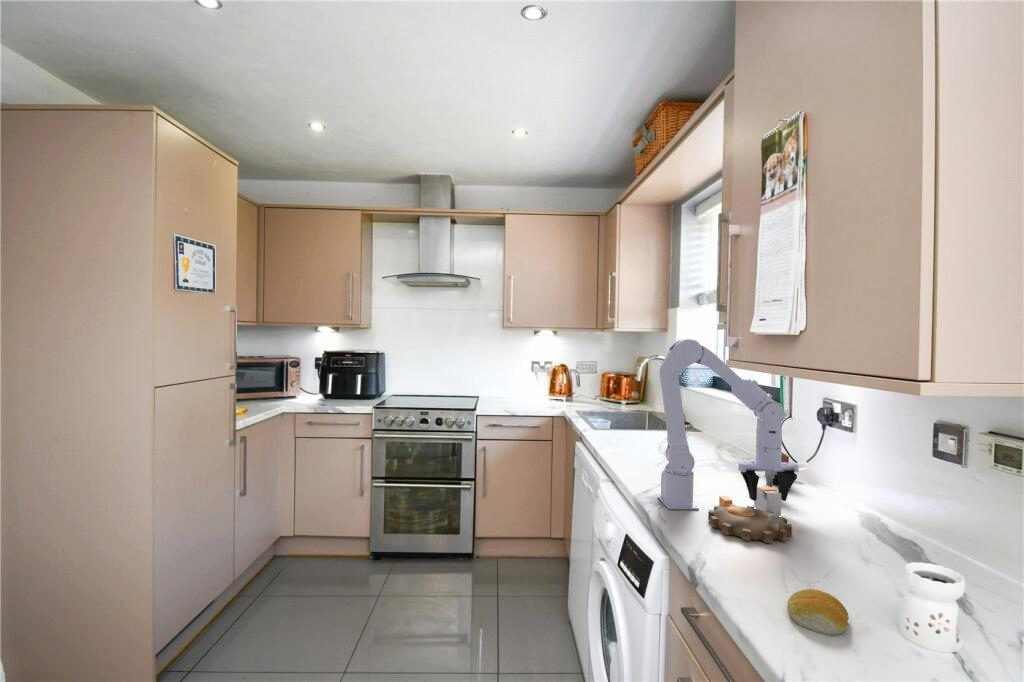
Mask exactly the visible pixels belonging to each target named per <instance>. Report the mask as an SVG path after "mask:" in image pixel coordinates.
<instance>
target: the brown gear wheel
mask: <svg viewBox="0 0 1024 682" xmlns="http://www.w3.org/2000/svg"><path fill="white" fill-rule="evenodd" d="M707 514H708V515H707V517H708V521H709V525H710V526H711V527H712V528H718V529H720V530H721V533H722V534H724V535H726V536H730V535H733V536H736V537H738V538H739V537H740V538H741V539H742V540H744V541H749V542H751V540H755V541H762V542H764V543H765V544H773V543H774V542H773V541H776V540H779V541H782V542H786V541H788V540H789V536H790V537H792V536H793V535H792V531H793V526H792V524H791V523H788V521H789V520H788V519H787V518H786V517H785V516H781V517H779V515H777V514H774V512H771V511H768V510H766V511H762V510H758V509H754V506H751V505H746V507H745V506H737V505H736V504H732V505H728V506H727V507H721V506H719V505H715V506H713V509H709V510H708V513H707Z"/></svg>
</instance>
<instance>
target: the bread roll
mask: <svg viewBox="0 0 1024 682" xmlns="http://www.w3.org/2000/svg"><path fill="white" fill-rule="evenodd" d="M786 603H787V604H786V605H787V606H786V610H787V612H788V615H789V617H790V618H791V619H792V620H793V621H794V622H795V623H796V624H798V625H799V626H801V627H803V628H806V629H808V630H810V631H813V632H816V633H820V634H822V635H825V636H827V635H828V636H836V635H841V634H843V633H844V632H846V630H847V629H848V628H849V619H850V617H849V612H848V610H847V609H846V607H845V606H844V604H843V603H842V602H841V601H840V600H839V599H838V598H836V597H835V596H833V595H831V594H830V593H828V592H825V591H823V590H819V589H815V588H814V589H811V588H809V589H807V588H805V589H801V590H797V591H795V592H794V593H792V594H791V596H789V598H788V600H787V602H786Z"/></svg>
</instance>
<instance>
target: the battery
mask: <svg viewBox="0 0 1024 682" xmlns="http://www.w3.org/2000/svg"><path fill="white" fill-rule="evenodd" d="M789 461H790V457H789V455H787V454H786V453H784V452H782V451H781V462H786V463H790V462H789ZM774 477H775V478H773V483H772V486H779V484H778V476H777V475H774Z"/></svg>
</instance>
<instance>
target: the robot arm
mask: <svg viewBox="0 0 1024 682" xmlns="http://www.w3.org/2000/svg"><path fill="white" fill-rule="evenodd" d="M693 364H698V365H700V366H705V367H708V368H709V369H710V370H711V371H712V372H713V373H714V374H716V375H717V376H719V378H720V379H722V380H723V381H724V382H726V383H727V384H728V385H729V386H730V387H731V394H732V395H733V396H734V397H735V398H736V399H737V400H739V401H740V402H741V403H742V404H744V406H745V407H747V408H748V409H749V411H752V412H753V414H754V416H755V417H757V418H756V435H755V436H756V437H755V438H756V439H755V440H756V442H755V443H756V444H755V460H753V461H745V462H737V463H738V464H737V465H738V466H737V467H738V469H737V470H738V471H739V472H740V474H741V476H742V478H743V480H744V483H745V485H746V488H747V492H748V496H749V500H752V501H753V502H754V501H756V499H757V486H759V485H758V484H759V480H760V476H759V475H758V474H757V472H765V471H777V476H778V484H779V485H778V489H777V491H778V492H780V493H781V501H783V502H786V501H787V498H788V496H789V492H790V490H791V488H792V486H793V484H794V483H795V481H796V480H797V479H798V474H797V473H799V471H800V469H799V468H800V467H799V464H798V463H796V462H789V463H786V462H781V452H782V444H783V443H782V437H783V431H782V429H783V428H782V427H783V426H782V425H783V422H784V421H785V419H786V417H787V412H786V411H785V408H784V406H783V405H782V404H781V403H780V402H777V401H775V400H774V399H772V398H773V395H772V394H770V393H767V392H766V391H764V390H763V389H762V388H761V387H760V386H759V385H758V384H759V383H758V381H757V380H756V379H751V378H750V377H740V376H739V375H738V374H737V373H736V372H735V371H734V370H733V369H732V368H731V367H730V366H729V365H727V364H726V363H725V362H724V361H723V360H722V359H721V358H719V356H718V355H717V354H715V353H714V352H712V350H710V349H709V348H707V347H706V346H704V345H701V343H700V342H699V341H697V340H695V339H693V338H681V339H678V340H677V341H675V343H673V345H671V346H670V347H669V348H668V351H667V353H666V356H665V357H664V359H663V361H662V363H661V365H660V367H659V370H658V373H659V380H660V387H661V395H662V403H663V410H664V418H665V426H666V434H667V438H666V441H667V447H666V448H665V452H664V453H665V458H666V460H667V462H668V463H667V464H666V466H664V469H663V470H662V472H661V475H660V495H659V494H658V495H657V499H659V500H660V501H661V503H662V504H664V505H665V507H666V508H667V509H668V510H700V507H699V506H698V505H697V504H696V503H695V502H694V472H695V471H694V467H695V463H696V462H695V458H694V456H693V455H692V452H691V451H690V445H689V442H688V438H687V433H686V425H685V416H684V410H683V401H682V395H681V387H680V378H679V376H680V375H681V374H682V373H683V372H684V371H685V370H686V369H687V368H688V367H689V366H692V365H693Z"/></svg>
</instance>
